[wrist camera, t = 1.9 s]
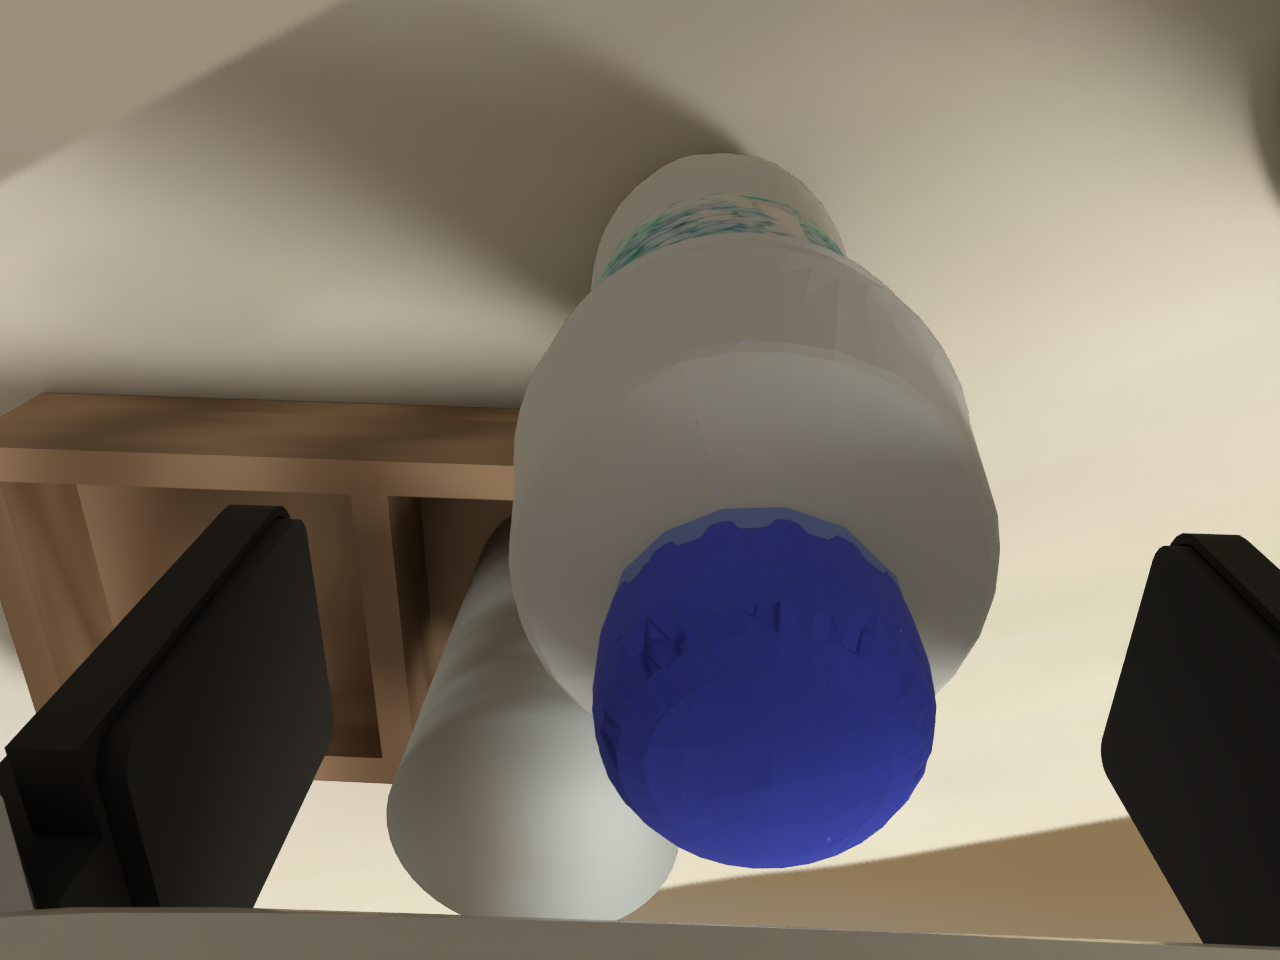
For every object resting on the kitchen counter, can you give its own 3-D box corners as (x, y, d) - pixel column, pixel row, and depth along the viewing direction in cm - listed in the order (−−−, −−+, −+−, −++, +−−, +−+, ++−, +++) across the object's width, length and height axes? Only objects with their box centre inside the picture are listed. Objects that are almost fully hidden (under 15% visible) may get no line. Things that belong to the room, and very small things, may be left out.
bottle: (768, 414, 28) (905, 1103, 10) (557, 319, 27) (307, 899, 9) (886, 200, 26) (1349, 638, 8) (656, 87, 25) (569, 283, 7)
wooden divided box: (776, 417, 28) (823, 632, 19) (750, 715, 33) (777, 1013, 23) (43, 392, 29) (-290, 586, 19) (120, 687, 34) (-114, 965, 24)
